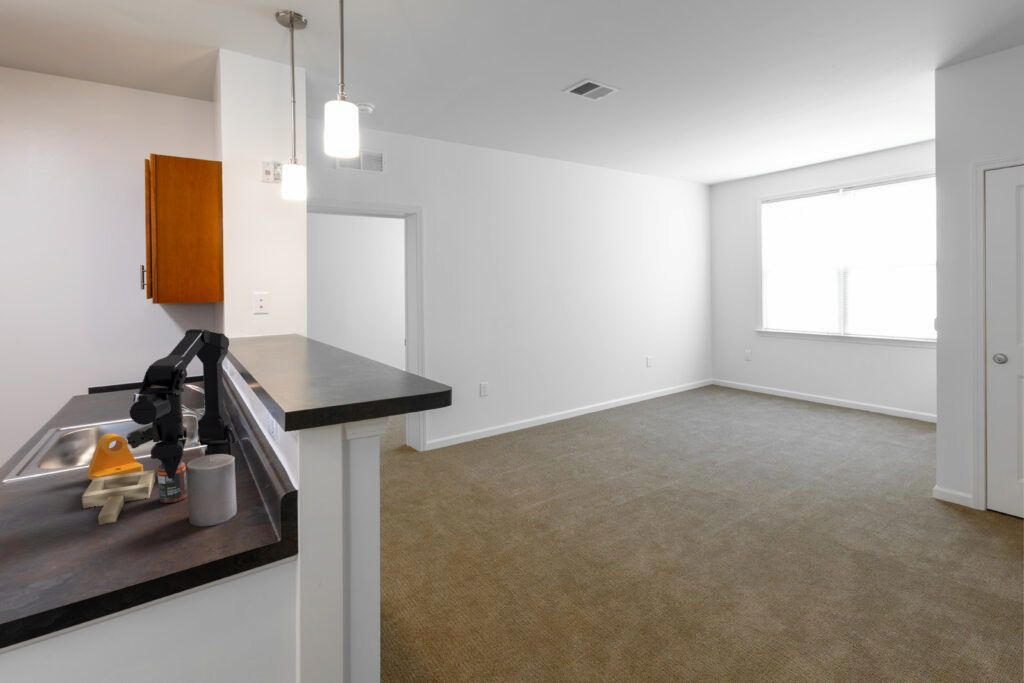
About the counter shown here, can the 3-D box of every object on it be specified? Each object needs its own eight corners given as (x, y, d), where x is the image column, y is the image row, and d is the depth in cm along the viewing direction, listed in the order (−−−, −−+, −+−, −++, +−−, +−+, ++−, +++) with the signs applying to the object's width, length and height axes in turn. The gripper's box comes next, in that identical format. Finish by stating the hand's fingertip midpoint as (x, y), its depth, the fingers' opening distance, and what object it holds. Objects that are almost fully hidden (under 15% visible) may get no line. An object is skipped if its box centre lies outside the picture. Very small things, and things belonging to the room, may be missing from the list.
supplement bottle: (183, 492, 131) (180, 450, 130) (191, 498, 128) (188, 455, 126) (156, 499, 127) (153, 456, 126) (164, 506, 123) (161, 461, 122)
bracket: (98, 486, 134) (94, 443, 133) (88, 480, 138) (84, 438, 137) (144, 474, 143) (141, 433, 142) (134, 469, 147) (131, 429, 146)
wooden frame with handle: (155, 480, 139) (154, 469, 138) (142, 517, 117) (141, 504, 117) (95, 489, 132) (94, 478, 132) (70, 529, 111) (68, 516, 110)
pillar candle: (184, 516, 118) (180, 454, 116) (230, 503, 125) (227, 445, 123) (195, 531, 111) (191, 466, 109) (243, 517, 118) (240, 456, 116)
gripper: (134, 408, 129) (138, 467, 131) (121, 427, 113) (126, 493, 115) (185, 404, 134) (188, 460, 136) (180, 421, 118) (184, 484, 120)
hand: (172, 474), depth 127 cm, fingers closed on supplement bottle, 6 cm apart
